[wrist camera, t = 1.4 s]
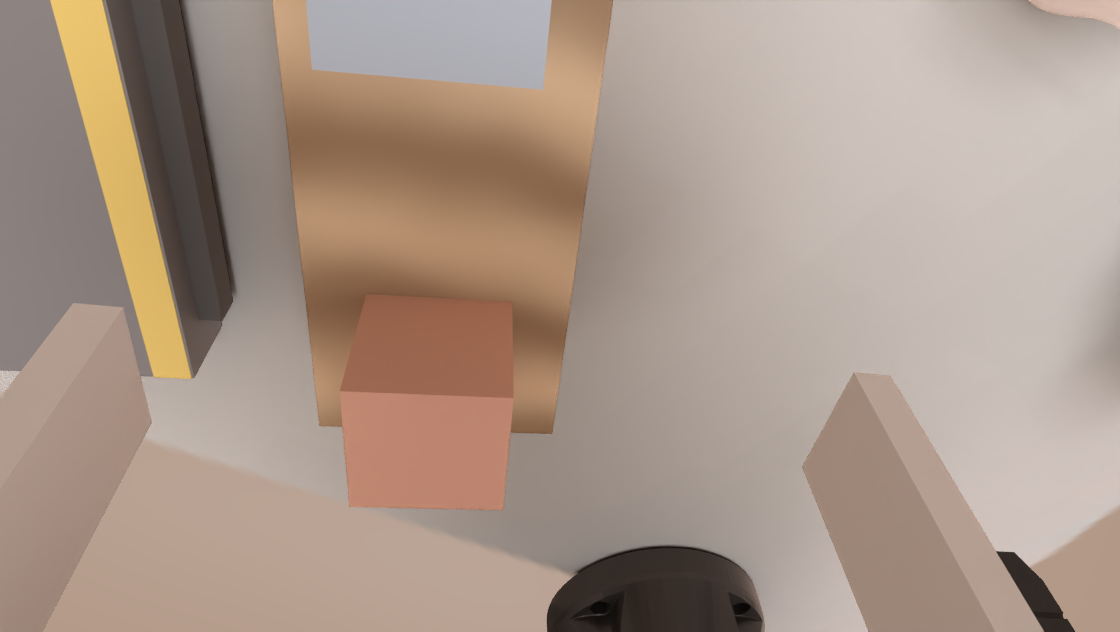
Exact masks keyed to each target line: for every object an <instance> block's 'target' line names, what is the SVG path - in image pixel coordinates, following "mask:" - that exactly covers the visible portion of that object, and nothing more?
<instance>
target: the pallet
mask: <svg viewBox="0 0 1120 632" xmlns="http://www.w3.org/2000/svg"><path fill="white" fill-rule="evenodd" d="M272 2H273V11H274V20H275V29H276V38H277V47H278V56H279V65H280V74H281V83H282V92H283V101H284V110H285V119H286V128H287V137H288V146H289V155H290V164H291V173H292V182H293V191H294V200H295V209H296V218H297V227H298V236H299V245H300V254H301V263H302V272H303V281H304V290H305V299H306V308H307V317H308V326H309V335H310V344H311V353H312V362H313V371H314V380H315V389H316V398H317V407H318V416H319V425H320V426H337V427H343V425H342V414H341V402H340V388H341V384H342V380H343V377H344V373H345V370H346V366H347V362H348V359H349V355H350V351H351V348H352V344H353V340H354V337H355V333H356V329H357V326H358V322H359V318H360V315H361V311H362V307H363V304H364V300H365V297H366V294H375V295H393V296H412V297H430V298H449V299H467V300H486V301H504V302H512V317H513V385H514V400H513V411H512V421H511V432H512V433H541V434H552V431H553V424H554V417H555V410H556V403H557V396H558V388H559V381H560V374H561V367H562V360H563V353H564V346H565V339H566V332H567V325H568V318H569V310H570V303H571V296H572V289H573V282H574V275H575V268H576V261H577V254H578V247H579V239H580V232H581V225H582V218H583V211H584V204H585V197H586V190H587V183H588V176H589V168H590V161H591V154H592V147H593V140H594V133H595V126H596V119H597V112H598V105H599V97H600V90H601V83H602V76H603V69H604V62H605V55H606V48H607V41H608V34H609V26H610V19H611V12H612V5H613V0H552V3H551V13H550V24H549V34H548V45H547V55H546V66H545V76H544V87H543V90H540V89H529V88H517V87H506V86H494V85H483V84H471V83H460V82H448V81H437V80H425V79H414V78H402V77H391V76H379V75H368V74H357V73H345V72H334V71H322V70H312V65H311V53H310V41H309V30H308V18H307V6H306V0H272Z"/></svg>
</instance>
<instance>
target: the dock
mask: <svg viewBox="0 0 1120 632" xmlns="http://www.w3.org/2000/svg"><path fill="white" fill-rule="evenodd" d="M232 302H233V298H232V293H231V287H230V282H229V276H228V271H227V265H226V259H225V254H224V248H223V243H222V237H221V232H220V226H219V221H218V215H217V209H216V204H215V198H214V193H213V187H212V182H211V176H210V171H209V165H208V159H207V154H206V148H205V143H204V137H203V132H202V126H201V120H200V115H199V109H198V104H197V98H196V93H195V87H194V82H193V76H192V70H191V65H190V59H189V54H188V48H187V43H186V37H185V32H184V26H183V20H182V15H181V9H180V4H179V0H0V370H4V371H21V370H22V369H23V368H24V366H25V365H26V364H27V363H28V361H29V360H30V359H31V357H32V356H33V355H34V353H35V352H36V351H37V350H38V348H39V347H40V346H41V344H42V343H43V342H44V340H45V339H46V338H47V337H48V335H49V334H50V333H51V331H52V330H53V329H54V327H55V326H56V325H57V324H58V322H59V321H60V320H61V318H62V317H63V316H64V314H65V313H66V312H67V311H68V309H69V308H70V307H71V305H72V304H73V303H80V304H91V305H102V306H114V307H123V309H124V313H125V317H126V321H127V325H128V329H129V333H130V337H131V341H132V345H133V349H134V353H135V357H136V361H137V365H138V369H139V373H140V376H152V377H158V378H183V379H192V378H195V376H196V374H197V372H198V370H199V368H200V366H201V364H202V363H203V361H204V359H205V357H206V355H207V353H208V351H209V349H210V347H211V345H212V344H213V342H214V340H215V338H216V336H217V334H218V332H219V330H220V328H221V327H222V322H221V321H223V319H224V317H225V315H226V313H227V311H228V310H229V308H230V306H231V304H232Z"/></svg>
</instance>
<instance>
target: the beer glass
mask: <svg viewBox="0 0 1120 632" xmlns="http://www.w3.org/2000/svg"><path fill="white" fill-rule="evenodd" d="M1028 1H1029V2H1030V3H1031V4H1032V5H1034V6H1035V7H1037V8H1038V9H1040V10H1043V11H1045V12H1048V13H1052V14H1056V15H1062V16H1072V17H1083V18H1093V19H1098V20H1101V21H1104V22H1107V23H1109V24H1111V25H1113V26H1115V27H1117V28H1118V29H1119V30H1120V0H1028Z"/></svg>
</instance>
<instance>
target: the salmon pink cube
mask: <svg viewBox="0 0 1120 632" xmlns="http://www.w3.org/2000/svg"><path fill="white" fill-rule="evenodd" d="M513 400H514V385H513V317H512V302H504V301H486V300H467V299H449V298H430V297H412V296H393V295H375V294H366V297H365V300H364V304H363V307H362V311H361V315H360V318H359V322H358V326H357V329H356V333H355V337H354V340H353V344H352V348H351V351H350V355H349V359H348V362H347V366H346V370H345V373H344V377H343V380H342V384H341V388H340V402H341V414H342V425H343V437H344V449H345V460H346V472H347V483H348V495H349V506H350V507H389V508H434V509H478V510H503V505H504V495H505V484H506V474H507V463H508V453H509V442H510V432H511V421H512V411H513Z"/></svg>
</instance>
